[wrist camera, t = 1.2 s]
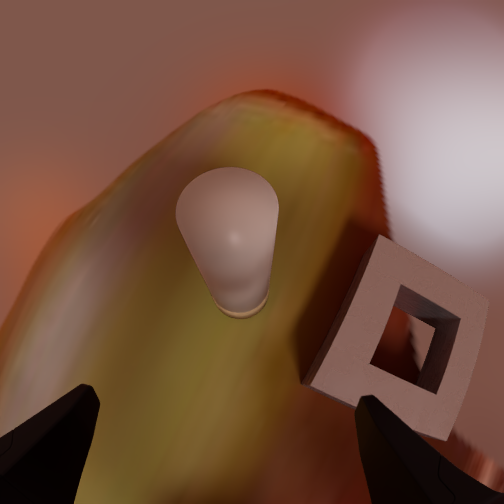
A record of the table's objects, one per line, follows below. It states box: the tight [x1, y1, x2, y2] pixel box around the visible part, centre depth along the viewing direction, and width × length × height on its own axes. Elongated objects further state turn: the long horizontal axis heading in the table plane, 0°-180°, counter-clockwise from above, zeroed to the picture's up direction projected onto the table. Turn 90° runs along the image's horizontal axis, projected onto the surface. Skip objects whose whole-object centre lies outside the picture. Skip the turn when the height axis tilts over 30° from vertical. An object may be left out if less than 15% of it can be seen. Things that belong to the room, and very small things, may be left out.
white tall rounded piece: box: [176, 167, 279, 319], centre depth 18 cm, size 4×4×12 cm
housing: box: [301, 234, 489, 441], centre depth 19 cm, size 12×12×4 cm
